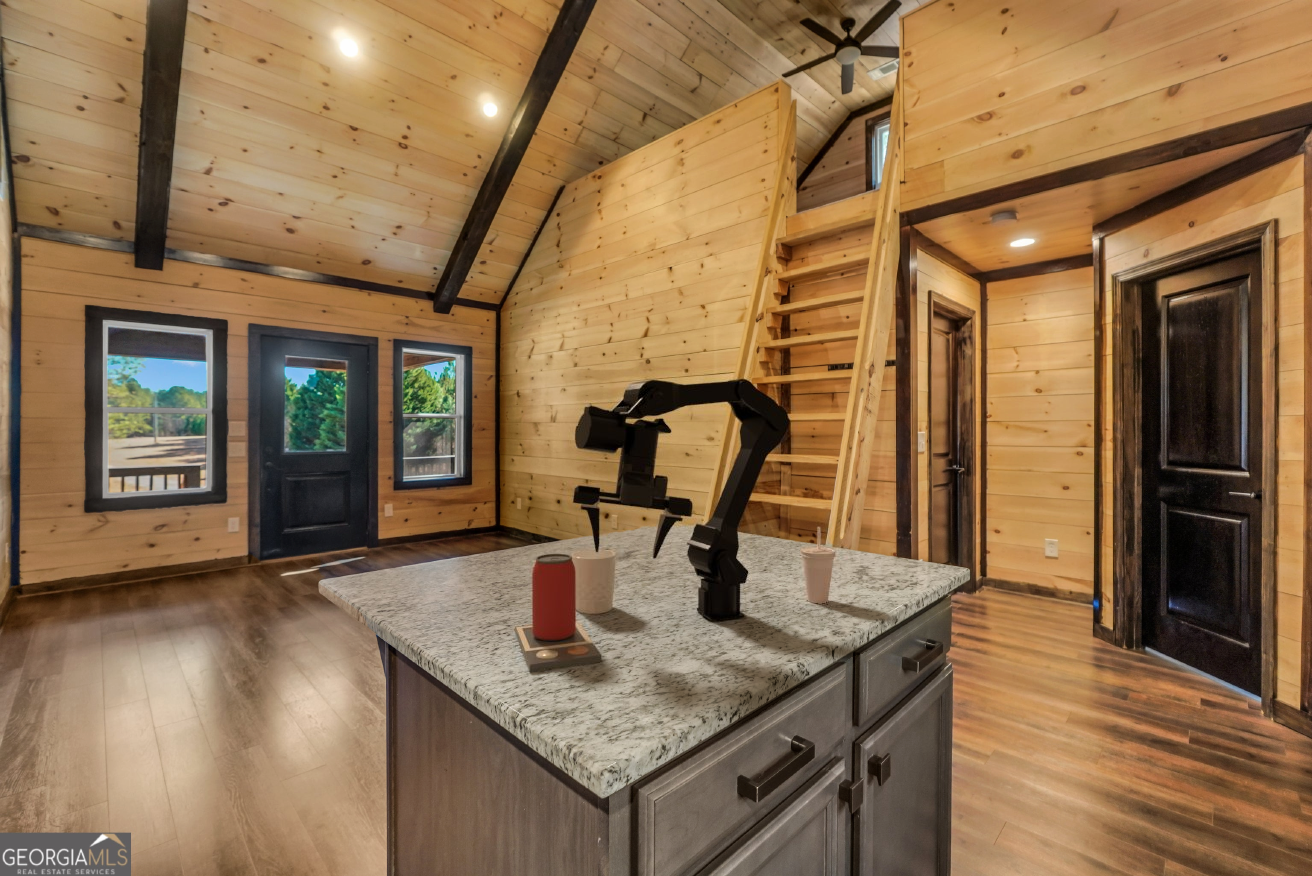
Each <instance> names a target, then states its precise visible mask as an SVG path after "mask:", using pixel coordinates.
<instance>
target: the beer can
mask: <svg viewBox="0 0 1312 876" xmlns="http://www.w3.org/2000/svg"><path fill="white" fill-rule="evenodd" d="M531 575H532V576H531V580H532V581H531V583H532V584H531V586H532V587H531V588H532V589H531V590H532V591H531V593H532V597H531V599H532V600H531V602H532V603H531V605H532V607H531V608H532V614H531V615H532V619H531V620H532V623H531V625H532V633H533V635H534V636H535V637H536V638H537V639H539V640H543V641H561V640H565V639H568V638H570V637H571V636H572V635H573V634H574V633H575V631H576V620H577V619H576V615H577V614H576V611H577V610H576V571H575V566H574V564H573V561H572V555H571V554H566V553H547V554H546V553H545V554H541V555H538V556H537V557H535V562H534V566H533V570H532V573H531Z"/></svg>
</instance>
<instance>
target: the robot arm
mask: <svg viewBox="0 0 1312 876" xmlns="http://www.w3.org/2000/svg"><path fill="white" fill-rule="evenodd" d="M718 403H728V404H729V406H730V408H731V411H732V413H733V415H734V417H735V418H737V420H738V421H739V422H740V423H741V424H740V429H739V438H740V448H739V451H738V454H737V456H736V459H735V461H734V463H733V466H731V467H732V468H731V470H730V473H729V475H728V478H727V480H726V483H725V485H724V487H723V490H722V492H721V495H720V497H719V499H718V502H717V504H716V506H715V509H714V511H713V514H712V516H711V518H710V519H708V521H707V522H706V523H705V524H702V523H696V524H695V526H694V527H693V532H692V535H691V537H690V539H689V540H688V541H687V543H686V545H688V548H687V552H686V553H687V554H686V555H687V557H688V562H690V565H691V566H692V567H693V569H694V571H695V572H694V573H695V574H696V576H697V577H701V578H700V587H698V589H697V590H698V591H697V597H698V598H697V599H698V602H697V603H698V604H697V607H696V611H697V612H698V613H699V614H700V615H702V616H704V617H705V618H707V619H708V620H709V621H710V622H716V621H725V620H733V619H741V618H745V617H746V614H745V613H744V612H742V611H741V585H744V584H746V583H747V580H748V576H749V570H748V569H747V568H746V567H745V566H744V565H743V564H742V563H741V561H740V560H738V559H737V557H738V553H739V549H740V542H739V541H740V540H739V534H738V533H739V532H738V530H739V526H740V525H741V521H742V518H743V517H744V514H745V512H746V509H747V506H748V503H749V502H750V499H751V497H752V493H753V491H754V489H755V487H756V484H757V481H758V478H759V476H760V474H761V471H762V468H763V466H764V464H765V462H766V459H767V457H768V456H769V454H771V453H772V452H773V451H774V450H775V449H776V448H777V447H778V446H779V445H781V443H782V442H783V439H784V438H785V436H786V434H787V433H788V430H789V428H790V424H791V419H790V418H789V414H788V411H787V410H786V409H785V408H784V406H780V405H779V404H778V403H777V402H776V401H775V400H774V399H773V398H772V397H770V396H768V395H767V394H765V393H764V392H763V391H761V390H759V389H758V388H757V387H756V386H755V385H754V384H753V383H752V382H751V381H750V380H747V379H746V378H739V379H737V378H736V379H729V380H727V381H716V382H715V381H714V382H702V383H687V384H683V383H676V382H673V381H668V380H658V379H649V380H644V381H643V380H642V381H636V382H632V383H630V384H628V386H627V387H626V389H625V390H624V392H623V397H622V398H621V399H620V400H619V401H618V403H617V404H615V406H614V407H612V409H611V410H610V409H604V408H603V409H602V408H601V407H599V406H595V405H585V406H584V409H583V413H582V415H581V416H580V418H579V420H578V421H577V422H578V423H577V425H576V426H575V429H574V430H575V431H574V443H575V446H576V447H577V449H578V450H584V451H591V452H592V451H593V452H598V453H605V454H612V455H613V454H615V453H616V452H617V451H618V450H619V449H620V455H619V456H620V457H619V463H618V464H619V465H618V471H617V480H616V488H615V492H608V491H601V488H600V487H598V486H590V485H589V486H588V485H584V484H583V485H581V484H578V485H577V486H576V487H575V488H574V490H573V492H574V493H573V497H572V498H573V499H572V503H573V504H580V510H581V511H582V510H583V511H586V513H587V515H588V519H589V522H590V525H591V530H592V536H593V542H594V548H595V550H596V552H598V550H599V549H600V514H601V513H600V509H601V508H600V507H599V505H600V504H601V503H603V504H610V505H618V506H619V505H620V506H626V507H636V508H642V509H643V508H644V509H652V510H660V511H663V514H662V513H660V514H659V519H658V525H657V530H656V534H655V538H654V544H653V548H652V549H653V550H652V558H653V559H654V560H655V559H657V557H658V554H659V553H660V551H661V548H662V546H663V544H664V541H665V539H666V537H667V535H668V533H670V530H671V529H672V527H673V526H674V525H675V524H676V523H677V522H683V519H684V518H682V517H689V518H691V517H692V516H693V507H694V506H693V501H692V500H691V499H690V498H688V497H687V498H686V497H681V496H680V497H679V496H671V495H667V492H668V484H669V483H668V481H669V479H668V476H667V475H658V474H656V475H655V466H656V459H657V452H658V451H657V450H658V443H659V434H660V435H661V434H671V433H672V429H671V427H670V426H669V425H667V423H666V422H665V419H664V418H663V417H660V418H655V419H654V420H653V421H652V420H646V419H644V418H645V417H658V416H661V415H664V414H668V413H671V412H675V411H677V410H678V409H680V408H684V407H689V406H698V405H708V404H710V405H711V404H718ZM626 420H636V421H635V422H634V423H630V422H626ZM654 476H655V477H654Z"/></svg>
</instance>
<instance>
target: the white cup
mask: <svg viewBox="0 0 1312 876" xmlns="http://www.w3.org/2000/svg"><path fill="white" fill-rule="evenodd" d="M616 554H617V552H615V551H612V550H608V549H600V548H599V550H598V552H596V550H595V549H591V548H590V549H583V550H582V549H581V550H578V551H575V552H572V554H571V556H572V561H573V564H574V566H575V571H576V611H577V612H578V613H582V614H586V615H587V614H588V615H596V614H597V615H598V614H604V613H607V612H610V611H612V609H613V605H614V604H613V603H614V593H615V582H616V581H615V579H616V560H617V559H616V556H617V555H616Z"/></svg>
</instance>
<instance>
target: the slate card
mask: <svg viewBox="0 0 1312 876" xmlns="http://www.w3.org/2000/svg"><path fill="white" fill-rule="evenodd" d="M514 633H515V636H516V639H517V642H518V644H519V648H520V649H521V653H522V655H523V658H524V660H525V664H526V665H527V666H526V667H527V669H528V672H529V673H532V672H538V671H539V672H540V671H546V670H552V669H553V670H555V669H559V668H561V669H562V668H567V667H574V666H575V667H576V666H582V665H583V666H584V665H589V664H596V663H602V657H603V656H602V653H601V652H600V651H599V649H598V648H597V646H596V644H594V642H593V641H592V639H591V638H590V636H589V635H588V634H587V632H586V631H585V630H584V628H583V627H582V625H581V623H580V622H579V621H578V620H577V619H576V631H575V633H574V634H573V635H572V636H571V637H570V638H568V639H565V640H561V641H543V640H539V639H537V638H536V637H535V636H534V635H533V633H532V624H527V625H526V624H525V625H518V626H514Z"/></svg>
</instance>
